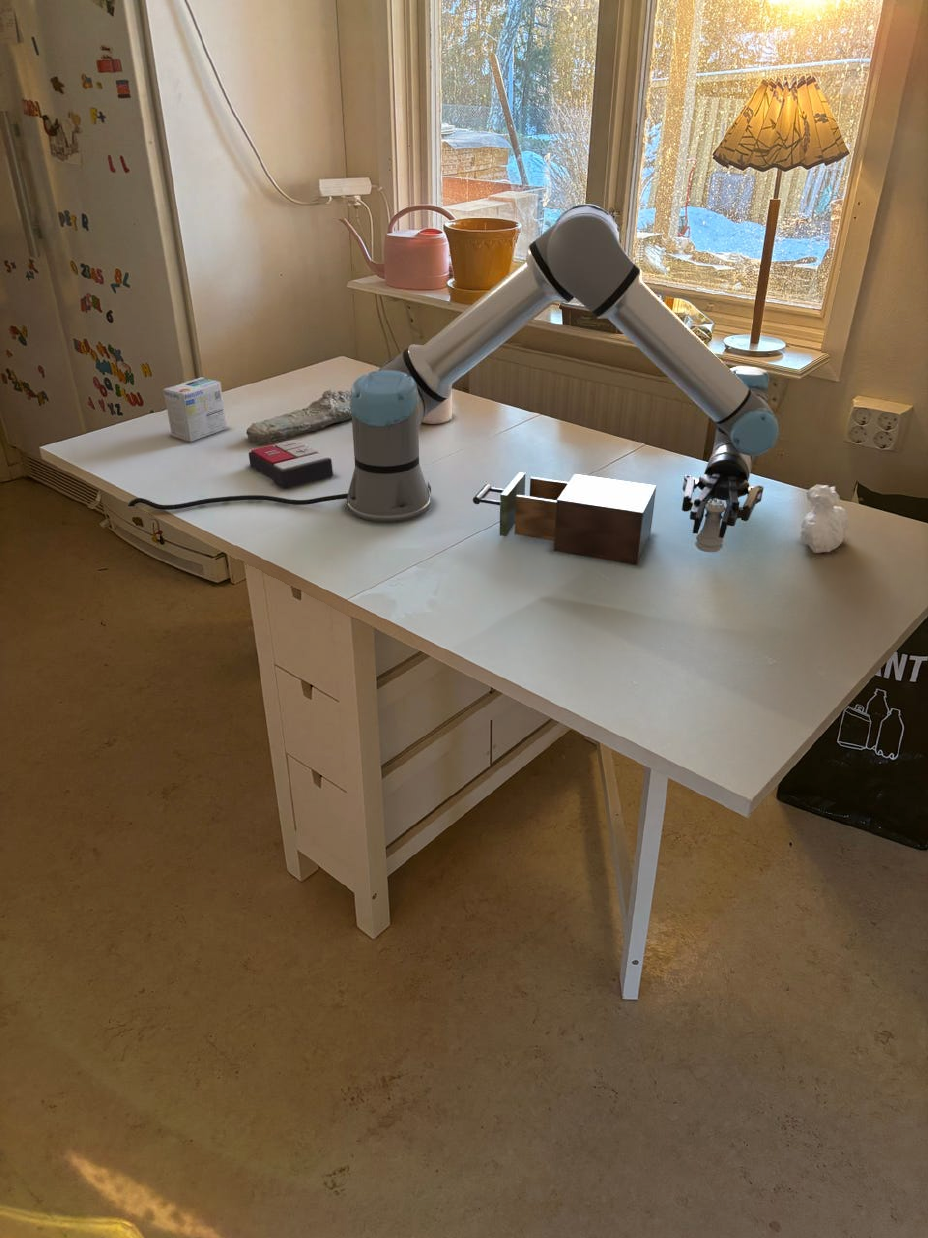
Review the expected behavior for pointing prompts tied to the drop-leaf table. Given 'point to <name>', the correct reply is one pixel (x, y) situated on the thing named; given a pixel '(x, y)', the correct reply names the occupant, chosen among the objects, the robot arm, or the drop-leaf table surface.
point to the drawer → (526, 506)
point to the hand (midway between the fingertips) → (709, 527)
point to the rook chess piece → (711, 528)
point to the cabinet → (604, 518)
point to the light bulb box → (195, 409)
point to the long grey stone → (303, 418)
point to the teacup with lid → (440, 412)
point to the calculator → (291, 463)
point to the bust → (824, 520)
